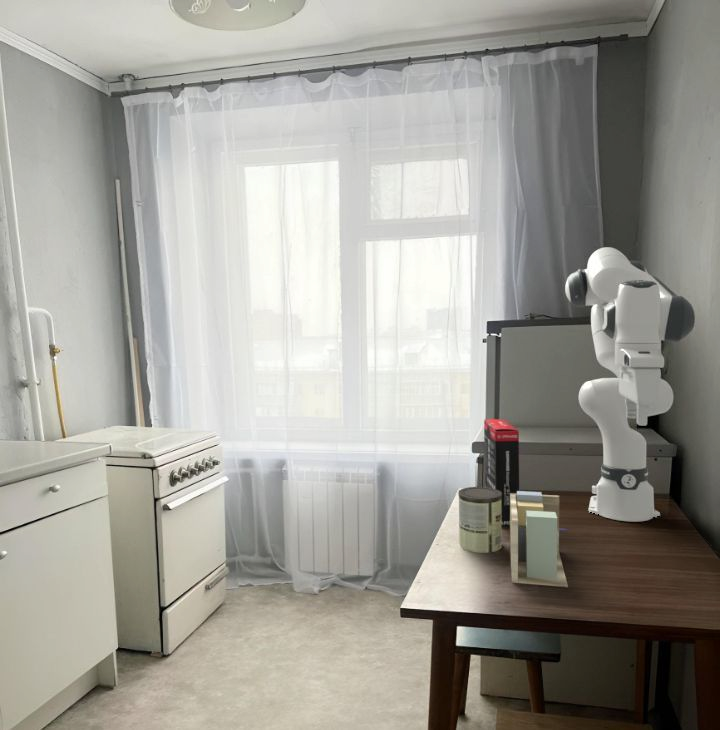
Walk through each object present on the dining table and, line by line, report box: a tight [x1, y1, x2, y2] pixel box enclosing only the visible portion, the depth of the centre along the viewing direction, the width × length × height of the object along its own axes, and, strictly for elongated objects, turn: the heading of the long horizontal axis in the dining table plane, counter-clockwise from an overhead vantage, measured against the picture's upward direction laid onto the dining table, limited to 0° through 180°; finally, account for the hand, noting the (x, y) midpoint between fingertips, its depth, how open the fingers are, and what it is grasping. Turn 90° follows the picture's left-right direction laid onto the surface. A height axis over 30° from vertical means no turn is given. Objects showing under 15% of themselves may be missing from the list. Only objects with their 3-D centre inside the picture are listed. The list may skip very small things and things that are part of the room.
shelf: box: [509, 493, 569, 588], centre depth 129 cm, size 20×11×14 cm, turn 167°
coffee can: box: [457, 486, 503, 554], centre depth 141 cm, size 10×10×14 cm
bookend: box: [518, 526, 526, 562], centre depth 132 cm, size 4×6×8 cm
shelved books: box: [517, 490, 543, 526], centre depth 134 cm, size 7×6×14 cm
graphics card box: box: [483, 418, 520, 527], centre depth 162 cm, size 17×7×27 cm, turn 179°
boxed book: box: [526, 511, 557, 580], centre depth 124 cm, size 4×6×13 cm, turn 77°
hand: (636, 421), depth 125 cm, fingers open, 8 cm apart
